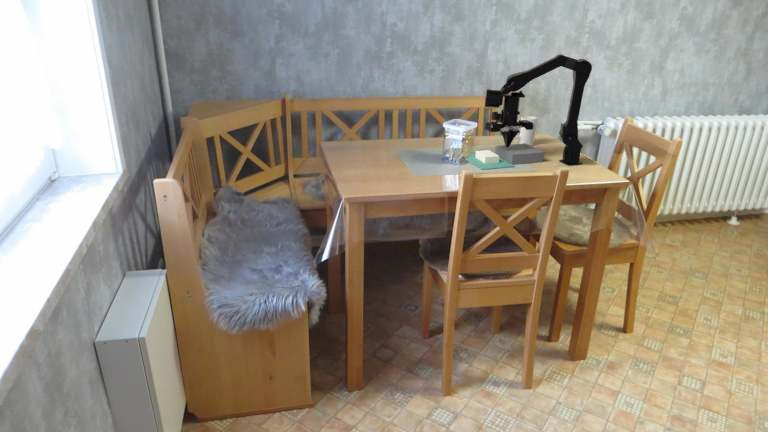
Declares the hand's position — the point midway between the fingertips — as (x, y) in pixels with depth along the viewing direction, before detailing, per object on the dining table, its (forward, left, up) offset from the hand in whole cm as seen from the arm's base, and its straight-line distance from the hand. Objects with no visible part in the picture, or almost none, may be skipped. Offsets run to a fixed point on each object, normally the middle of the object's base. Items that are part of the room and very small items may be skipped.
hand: (507, 147), depth 219 cm
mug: (+19, -19, -5) cm, 27 cm away
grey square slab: (0, -6, -5) cm, 8 cm away
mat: (0, +9, -5) cm, 10 cm away
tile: (0, +8, -3) cm, 9 cm away
